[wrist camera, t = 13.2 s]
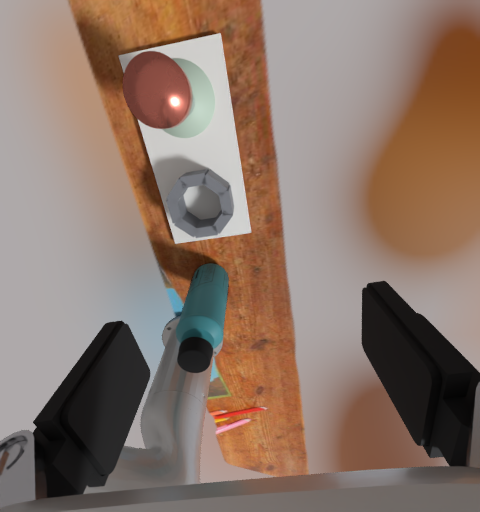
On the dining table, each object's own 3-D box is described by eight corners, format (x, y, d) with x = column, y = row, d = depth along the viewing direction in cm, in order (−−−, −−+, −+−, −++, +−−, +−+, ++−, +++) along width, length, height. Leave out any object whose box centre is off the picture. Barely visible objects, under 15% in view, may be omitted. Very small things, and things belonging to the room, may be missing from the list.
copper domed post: (205, 75, 32) (189, 56, 24) (202, 131, 35) (187, 132, 26) (154, 68, 32) (119, 46, 23) (156, 125, 35) (125, 124, 26)
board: (251, 230, 43) (251, 242, 39) (176, 241, 44) (168, 254, 40) (221, 35, 32) (216, 20, 27) (121, 57, 33) (102, 46, 28)
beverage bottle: (199, 253, 45) (169, 335, 27) (235, 264, 46) (228, 351, 28) (191, 283, 48) (158, 375, 30) (224, 292, 49) (212, 387, 31)
